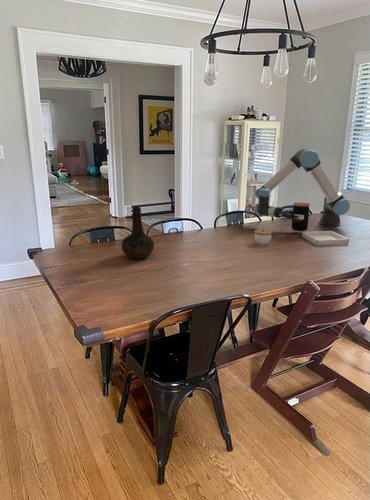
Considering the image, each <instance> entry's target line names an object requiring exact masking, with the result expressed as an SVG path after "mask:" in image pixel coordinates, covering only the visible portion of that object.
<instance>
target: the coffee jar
mask: <svg viewBox="0 0 370 500" xmlns="http://www.w3.org/2000/svg"><path fill="white" fill-rule="evenodd" d="M310 206H311V205H310V203H308V202H300V201H299V202H294V203H293V207H292V208H293V209H292V210H293V215H294V214H297V215H304V219H295V218H293V219H292V218H291V229H292V230H293V231H296V232H307V230H308V226H309V217H310V215H309V213H310Z"/></svg>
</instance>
